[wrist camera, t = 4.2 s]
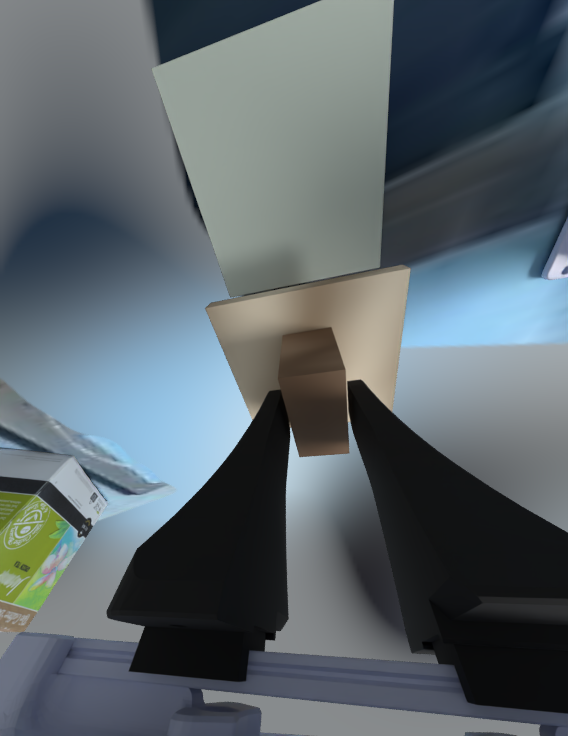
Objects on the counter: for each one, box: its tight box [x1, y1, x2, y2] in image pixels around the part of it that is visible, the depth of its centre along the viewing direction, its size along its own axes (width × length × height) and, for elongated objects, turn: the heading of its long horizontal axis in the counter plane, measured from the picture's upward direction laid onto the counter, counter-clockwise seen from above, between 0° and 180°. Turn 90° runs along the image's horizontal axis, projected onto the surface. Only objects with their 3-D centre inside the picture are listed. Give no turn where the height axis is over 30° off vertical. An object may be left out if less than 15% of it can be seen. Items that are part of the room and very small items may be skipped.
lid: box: [205, 265, 411, 457], centre depth 11 cm, size 9×9×4 cm
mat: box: [152, 0, 394, 297], centre depth 11 cm, size 10×10×1 cm
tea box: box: [0, 449, 108, 632], centre depth 27 cm, size 15×10×15 cm, turn 172°
